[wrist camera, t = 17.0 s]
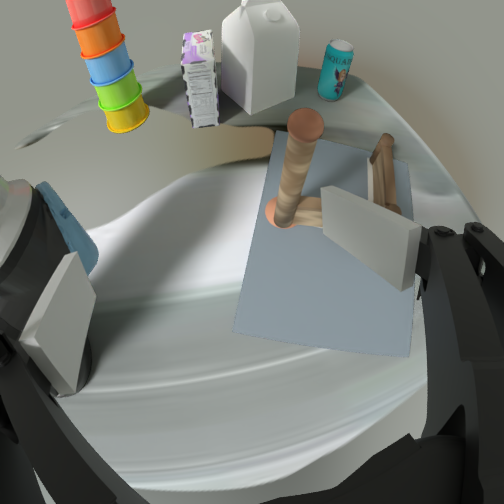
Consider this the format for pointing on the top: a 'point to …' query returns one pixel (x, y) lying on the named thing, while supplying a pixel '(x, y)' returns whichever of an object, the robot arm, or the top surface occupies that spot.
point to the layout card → (322, 267)
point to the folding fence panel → (299, 171)
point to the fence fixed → (384, 175)
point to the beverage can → (335, 69)
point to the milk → (259, 54)
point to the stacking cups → (108, 64)
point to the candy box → (200, 78)
